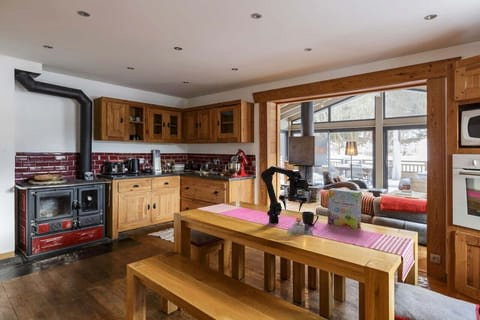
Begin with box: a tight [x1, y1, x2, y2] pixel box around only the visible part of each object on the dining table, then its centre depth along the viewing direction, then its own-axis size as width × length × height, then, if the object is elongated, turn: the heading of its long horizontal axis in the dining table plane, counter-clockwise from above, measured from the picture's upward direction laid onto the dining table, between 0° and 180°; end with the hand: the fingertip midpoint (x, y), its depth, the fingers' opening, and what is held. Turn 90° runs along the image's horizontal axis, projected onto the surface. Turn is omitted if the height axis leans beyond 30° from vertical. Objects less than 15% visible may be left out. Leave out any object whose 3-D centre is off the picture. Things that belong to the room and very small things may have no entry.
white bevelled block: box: [291, 221, 309, 233], centre depth 175 cm, size 10×8×5 cm
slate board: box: [286, 227, 314, 237], centre depth 175 cm, size 16×13×1 cm
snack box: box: [327, 187, 363, 230], centre depth 195 cm, size 22×9×26 cm, turn 50°
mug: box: [301, 211, 320, 227], centre depth 191 cm, size 8×12×10 cm
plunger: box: [295, 217, 302, 224], centre depth 176 cm, size 5×5×8 cm
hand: (292, 210), depth 184 cm, fingers open, 9 cm apart
